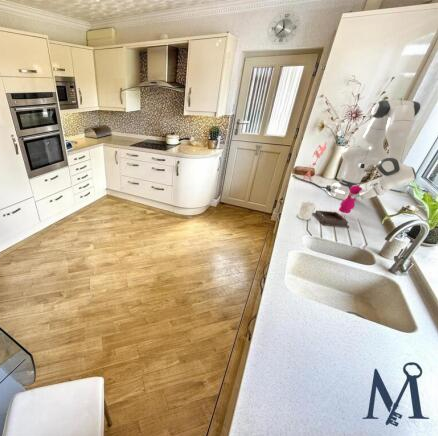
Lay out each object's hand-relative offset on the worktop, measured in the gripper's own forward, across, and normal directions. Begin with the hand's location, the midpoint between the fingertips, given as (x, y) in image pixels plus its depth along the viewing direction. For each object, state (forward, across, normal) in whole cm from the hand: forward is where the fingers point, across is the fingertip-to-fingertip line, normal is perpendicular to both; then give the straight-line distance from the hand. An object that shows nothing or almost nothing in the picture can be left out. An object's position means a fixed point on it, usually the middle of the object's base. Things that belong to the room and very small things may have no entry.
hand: (351, 195), depth 153 cm
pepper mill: (+8, 0, +9) cm, 12 cm away
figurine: (+27, -69, -5) cm, 75 cm away
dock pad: (+15, +15, +6) cm, 21 cm away
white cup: (+25, +22, -4) cm, 33 cm away
